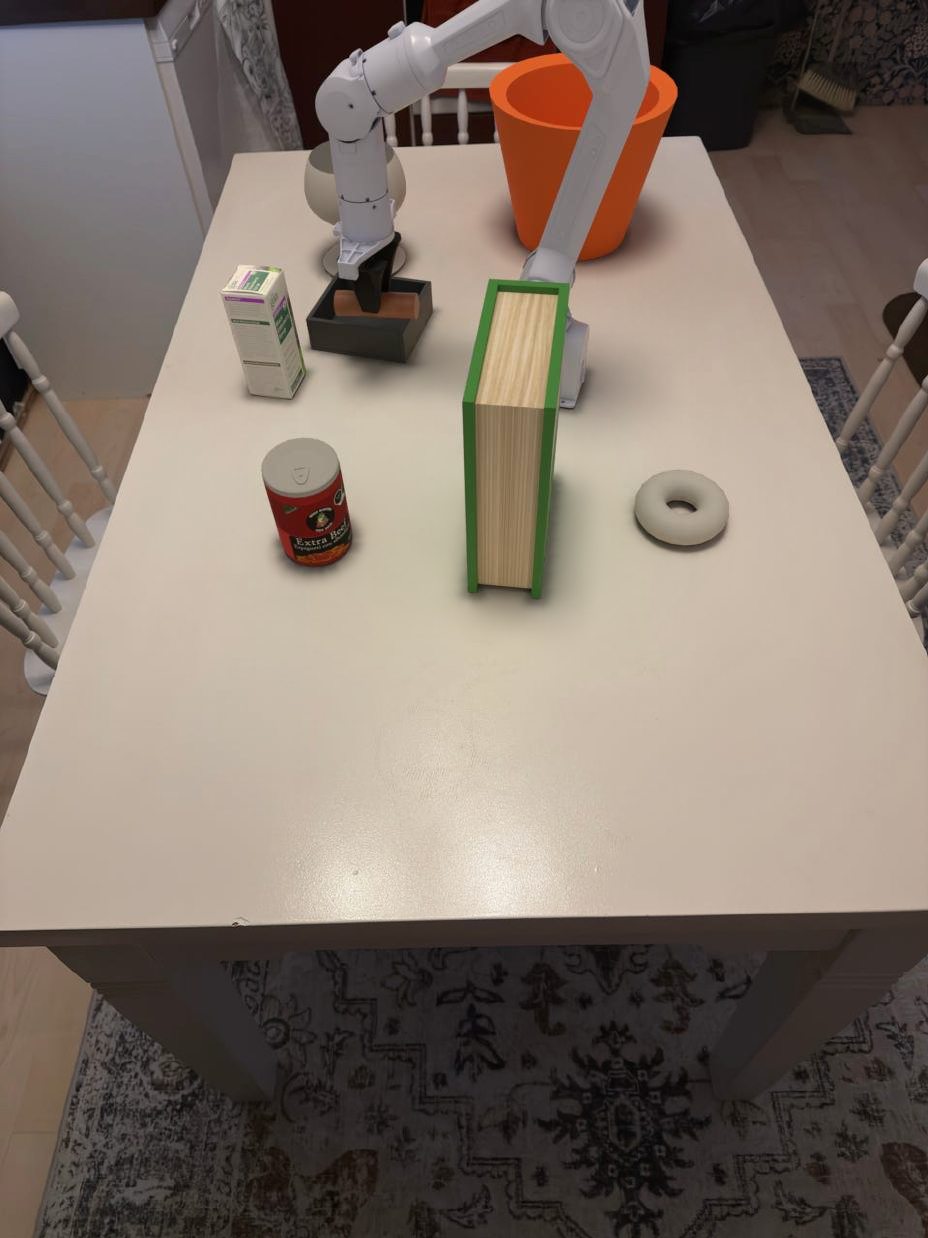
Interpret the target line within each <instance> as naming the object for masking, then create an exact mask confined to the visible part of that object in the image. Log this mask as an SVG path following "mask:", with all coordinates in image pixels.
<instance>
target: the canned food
mask: <svg viewBox="0 0 928 1238" xmlns="http://www.w3.org/2000/svg"><path fill="white" fill-rule="evenodd" d="M260 469H261V470H260V471H261V477H262V482H263V485H264V489H265V492H266V495H267V499H268V502H269V507H270V510H271V513H272V516H273V519H274V522H275V526H276V529H277V533H278V536H279V540H280V544H281V546H282V548H283V550H284V551H285V553H286V554H287V555H288V556H289V558H290V559H292V561H295V563H297V564H301V565H303V566H308V567H318V566H319V567H321V566H325V565H329V564H331V563H333V562H335V561H337V560H338V559H340V558H342V556H343V555H345V553H346V552H347V551H348V549H349V547H350V545H351V541H352V537H353V528H352V522H351V516H350V511H349V505H348V501H347V500H348V499H347V495H346V489H345V483H344V478H343V477H344V476H343V474H342V473H343V472H342V468H341V462H340V459H339V457H338V454H337V452H336V450H335V449H334V448H333V447H332V446H331V445H330V444H329V443H327V442H326V441H324V440H320V439H317V438H312V437H296V438H291V439H288V440H285V441H283V442H281V443H279V444H277V445H275V446H273V448H271V449H270V450H269V451H268V452H267V453H266V454H265V456H264V457H263V460H262V462H261V465H260Z"/></svg>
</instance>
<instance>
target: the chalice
mask: <svg viewBox="0 0 928 1238" xmlns="http://www.w3.org/2000/svg"><path fill="white" fill-rule="evenodd" d="M384 144H385V153H386V164H387V175H388V186H389V197H390V199H392V200H395V205H396V213H398V212H399V210H400V209H401V207H402V205H403V204H404V202H405V200H406V195H407V180H406V175H405V171H404V168H403V164H402V163H401V160H400V158H399V156H398V154H397V153H396V151H395V149H394V148H393V147H392V145H390V144H389V142H386V141H384ZM303 179H304V180H303V188H304V189H303V191H304V196H305V200H306V203H307V205H308V207H309V209H310V210H311V211H312V212H313V213H314V214H315V215H316V217H318V218H319V219H320V220H321V221H323V222H325V223H328V224H330V225H332V226H335V224H336V223H337V222H341V220H340V213H339V206H338V198H337V192H336V185H335V178H334V170H333V163H332V156H331V147H330V140H329V139H328V140H327V141H325V142H322V143H321V144H318V145H317V146H315V147H314V148H313V149H312V150H311V151H310V153H309V155H308V156H307V160H306V163H305V169H304V178H303ZM339 255H340V242H338V243H336V244H335V245H333V246H332V247H331V248H330V249H328V250H327V252H326V253H325V254H324V256H323V261H322V264H323V267H324V269H325V270H326V271H327V272H328V273H329V274H330V275H332V276H333V277H334V276H335V275H336V273H337V272H338V267H337V258H338V257H339ZM405 261H406V253H405V250H404V249H403V248H402V247H401V246H400V245H399V246H398V248H397V251H396V255H395V258H394V263H393V269H392V275H393V274H394V273H396V272H397V271H399V270H400V269H401V267H403V266H404V263H405Z"/></svg>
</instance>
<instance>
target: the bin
mask: <svg viewBox="0 0 928 1238" xmlns="http://www.w3.org/2000/svg"><path fill="white" fill-rule="evenodd" d="M336 290H350V291H353V289H352V287H351V285H350V283H349V282H348V280H347V279H343V278H339V272H337V273H336V275H335V276H333V277H332V279H331V280H330V282H329V283H328V285H327V286H326V288H325V289H324V290H323V292H322V293H321V296H320V297H319V298H318V300H317V301H316V302H315V304H314V306H313V307H312V308H311V310H310V311H309V313H308V314H307V316H306V317H305V323H306V328H307V333H308V338H309V343H310V348H311V350H314V351H315V350H316V351H323V352H328V353H334V354H335V353H336V354H341V355H346V356H347V355H348V356H353V357H360V358H366V359H373V360H374V359H375V360H380V361H386V362H394V363H399V364H407V362H408V360H409V359H410V356H411V355H412V352H413V351H414V348H415V346H416V345H417V343H418V341H419V339H420V337H421V335H422V333H423V331H424V330H425V327H426V325H427V324H428V321H429V319H430V318H431V316H432V314H433V312H434V307H433V290H432V281H431V280H425V279H424V280H423V279H417V278H409V277H402V276H394V275H392V276H391V285H390V291H389V292H402V293H417V294H418V297H419V314H418V318H417V319H396V318H373V317H349V316H337V315H336V313H335V310H334V295H335V292H336Z"/></svg>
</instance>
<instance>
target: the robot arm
mask: <svg viewBox="0 0 928 1238" xmlns="http://www.w3.org/2000/svg"><path fill="white" fill-rule="evenodd" d="M387 35H388V37H387V38H385V39H384V40H382V41H380V42H379V43H377V44H375V45H374V46H372V47H370V48H369V49H367V50H365V51H364V52H363V50H362V48H357V49H356V50H354V51H353V52H351V54H350V55H349V58H345V59H344V60H342V61H341V62H340V63H339V64H338V65H337V66H336V67H335V68H334V69H333V70H332V72H331V73H330V75H328V76H327V78H326V79H324V81H323V82H322V83H321V85H320V86H319V88H318V90H317V92H316V95H315V100H314V101H315V103H314V104H315V112H316V116H317V119H318V121H319V123H320V124H321V126H322V127H323V129H324V130H325V131H326V132H327V133H328V141H329V140H330V147H331V156H332V163H333V170H334V178H335V185H336V192H337V198H338V206H339V213H340V220H341V222H337V223H336V224H335V225H333V227H332V228H331V229H332V235H333V236H334V237H339V238H340V240H339V243H340V255H339V257H338V258H337V267H338V272H339V278H343V279H347V280H348V282H349V283H350V285H351V287H352V289H353V291H354V293H355V295H356V298H357V300H358V303H359V305H360V307H361V310H362V312H367V313H374V314H378V312H379V311H380V306H381V292H389V291H390V285H391V276H393V274H392V269H393V263H394V258H395V255H396V251H397V248H398V246H400V244H401V241H402V234H401V233H400V232H399V231H395V221H394V219H395V218H396V217H397V212H396V205H395V200H392V199H390V197H389V186H388V175H387V164H386V153H385V144H384V142H385V137H384V127H383V117H389V116H392V115H393V114H396V113H398V112H399V111H402V110H403V109H405V108H407V107H408V106H410V105H412V104H414V103H417V102H418V101H420V100H422V99H423V98H425V97H427V96H429V95H431V94H433V93H434V92H436V91H438V90H440V89H442V88H443V86H444V84H445V82H446V77H447V73H448V69H449V68H450V67H452V66H453V65H456V64H458V63H460V62H461V61H464V60H465V59H468V58H470V57H473V56H474V55H476V54H478V53H480V52H482V51H485V50H487V49H488V48H490V47H493V46H495V45H497V44H499V43H502V42H503V41H505V40H507V39H510V38H511V37H513V36H515V35H520V36H523V37H525V38H526V39H528V40H530V41H532V42H534V43H535V44H537V45H539V46H545V44H546V43H547V40H548V38H549V37H550V39H551V41H552V42H553V44H554V45H555V46H556V47H557V49H558V50H559V51H560V53H563V54H564V55H565V56H566V57H567V58H568V59H569V60H570V61H571V62H572V63H573V64H574V65H575V66H576V67H577V68H578V69H579V70H580V71H581V72H582V73H583V75H584V77H585V79H586V81H587V83H588V85H589V87H590V89H591V91H592V93H593V98H592V101H591V104H590V107H589V109H588V112H587V115H586V118H585V120H584V123H583V126H582V129H581V131H580V134H579V137H578V140H577V142H576V145H575V148H574V151H573V153H572V156H571V159H570V162H569V164H568V167H567V170H566V172H565V175H564V178H563V181H562V183H561V186H560V189H559V192H558V194H557V197H556V200H555V203H554V205H553V208H552V211H551V214H550V216H549V219H548V222H547V225H546V227H545V230H544V233H543V236H542V238H541V241H540V244H539V246H538V247H537V248H536V250H534V251H533V252H532V251H531V253H529V255H528V256H527V257H526V259H525V260H524V263H523V265H522V272H521V274H520V276H519V279H518V280H520V281H537V282H555V283H570V289H569V295H570V294H571V291H572V289H573V287H574V284H575V283H576V278H577V272H576V264H577V262H578V261H577V258H578V256H579V254H580V251H581V249H582V246H583V244H584V241H585V239H586V237H587V234H588V232H589V229H590V227H591V224H592V222H593V220H594V217H595V215H596V212H597V210H598V208H599V205H600V203H601V200H602V198H603V195H604V193H605V191H606V188H607V186H608V183H609V181H610V178H611V176H612V174H613V171H614V169H615V166H616V164H617V161H618V159H619V157H620V154H621V152H622V149H623V147H624V145H625V142H626V140H627V137H628V135H629V132H630V130H631V128H632V125H633V123H634V120H635V118H636V115H637V113H638V111H639V108H640V106H641V103H642V101H643V98H644V96H645V93H646V90H647V87H648V83H649V79H650V74H651V70H650V65H651V61H650V55H649V54H650V53H649V44H648V36H647V28H646V18H645V9H644V0H477V1H476V2H474V3H473V4H471V5H470V6H468V7H467V8H465V9H464V10H461V11H460V12H459V13H457V14H455V15H454V16H453V17H451V18H449V19H448V20H447V21H445V22H444V23H442V24H440V25H439V26H437V27H432V26H430V25H427V24H424V23H423V22H419V21H413V22H412V23H410V24H409V25H407V26H406V25H405V23H404V21H403V20H400V21H398V22H397V23H395V24H393V25H392V26H391V27H390V29H388V31H387ZM589 336H590V324H588V323H585V322H582V321H579V320H577V319H576V318H574V317H573V315H572V313H571V309H570V307H569V305H568V313H567V324H566V336H565V348H564V359H563V371H562V382H561V394H560V406H559V408H560V407H561V408H567V409H573V408H575V406H576V405H577V400H578V398H579V394H580V391H581V388H582V384H583V383H584V382H585V378H586V372H587V367H586V364H587V356H588V355H587V354H588V345H589Z"/></svg>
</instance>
